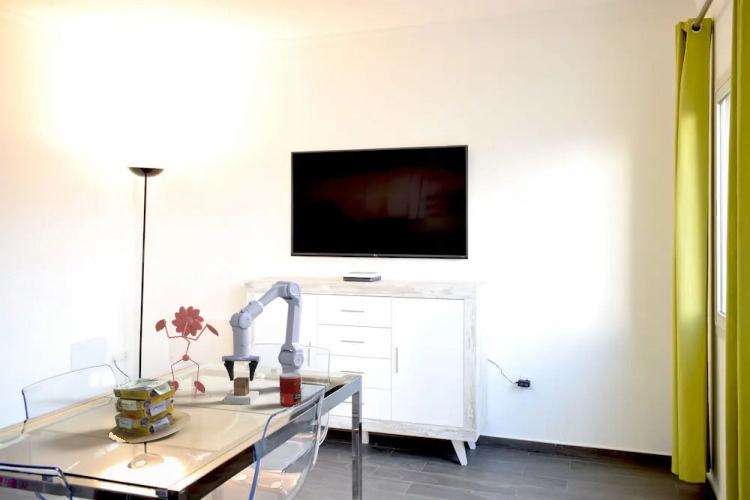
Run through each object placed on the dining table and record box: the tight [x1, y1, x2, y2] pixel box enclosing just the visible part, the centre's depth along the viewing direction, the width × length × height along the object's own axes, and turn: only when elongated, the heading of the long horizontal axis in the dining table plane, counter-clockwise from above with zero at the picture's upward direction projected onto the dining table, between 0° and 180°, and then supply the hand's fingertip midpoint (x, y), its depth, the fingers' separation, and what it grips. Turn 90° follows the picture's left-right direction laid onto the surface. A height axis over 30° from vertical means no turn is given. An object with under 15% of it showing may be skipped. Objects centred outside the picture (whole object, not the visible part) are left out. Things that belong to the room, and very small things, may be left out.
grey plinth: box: [223, 390, 260, 405], centre depth 243 cm, size 10×10×2 cm
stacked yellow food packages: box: [109, 377, 191, 444], centre depth 204 cm, size 25×25×17 cm
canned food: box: [279, 373, 302, 408], centre depth 236 cm, size 8×8×11 cm
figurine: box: [154, 305, 220, 398], centre depth 256 cm, size 15×26×35 cm, turn 87°
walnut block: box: [233, 376, 250, 396], centre depth 242 cm, size 4×4×6 cm
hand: (241, 380), depth 243 cm, fingers open, 7 cm apart
